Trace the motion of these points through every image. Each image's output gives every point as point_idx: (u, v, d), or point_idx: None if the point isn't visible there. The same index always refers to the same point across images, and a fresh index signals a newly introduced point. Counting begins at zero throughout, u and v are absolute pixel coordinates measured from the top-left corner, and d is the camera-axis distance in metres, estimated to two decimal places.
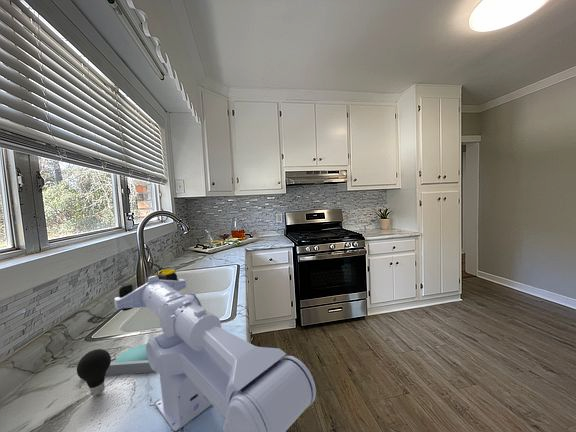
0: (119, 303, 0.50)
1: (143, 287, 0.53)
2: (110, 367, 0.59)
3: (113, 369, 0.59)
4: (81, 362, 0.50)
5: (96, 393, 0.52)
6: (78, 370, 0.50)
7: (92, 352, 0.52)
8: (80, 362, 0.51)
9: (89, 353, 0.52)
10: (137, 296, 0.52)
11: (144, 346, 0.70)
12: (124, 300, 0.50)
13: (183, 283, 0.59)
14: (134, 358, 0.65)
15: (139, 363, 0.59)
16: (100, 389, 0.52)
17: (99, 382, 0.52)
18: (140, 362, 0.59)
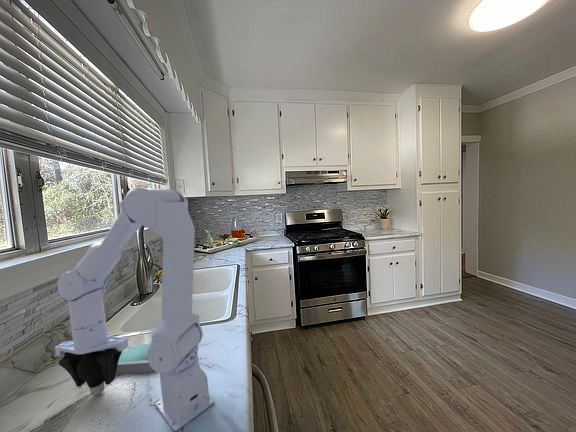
0: None
1: None
2: None
3: None
4: (81, 362, 0.50)
5: (96, 393, 0.52)
6: (78, 370, 0.50)
7: (92, 352, 0.52)
8: (80, 362, 0.51)
9: (89, 353, 0.52)
10: None
11: (144, 346, 0.70)
12: None
13: None
14: (134, 358, 0.65)
15: (139, 363, 0.59)
16: (100, 389, 0.52)
17: (99, 382, 0.52)
18: (140, 362, 0.59)
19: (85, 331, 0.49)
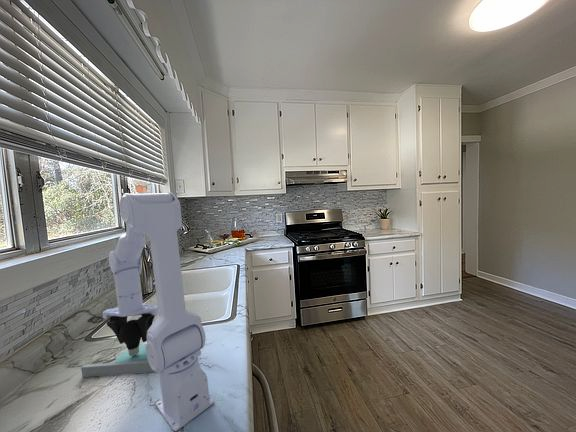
0: None
1: None
2: (110, 367, 0.59)
3: (113, 369, 0.59)
4: (123, 328, 0.63)
5: (133, 354, 0.65)
6: (120, 334, 0.63)
7: (131, 321, 0.65)
8: (122, 328, 0.63)
9: (128, 322, 0.65)
10: None
11: (144, 346, 0.70)
12: None
13: None
14: (134, 358, 0.65)
15: (139, 363, 0.59)
16: (136, 351, 0.65)
17: (136, 345, 0.65)
18: (140, 362, 0.59)
19: (128, 298, 0.63)
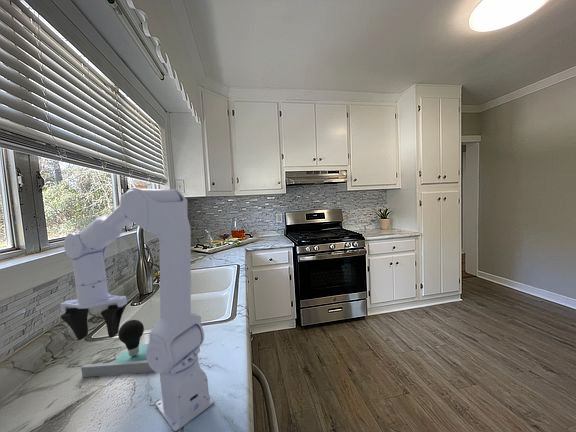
0: None
1: None
2: (110, 367, 0.59)
3: (113, 369, 0.59)
4: (122, 328, 0.63)
5: (133, 354, 0.65)
6: (120, 334, 0.63)
7: (130, 321, 0.65)
8: (121, 328, 0.63)
9: (127, 322, 0.65)
10: None
11: (144, 346, 0.70)
12: None
13: None
14: (134, 358, 0.65)
15: (139, 363, 0.59)
16: (136, 351, 0.65)
17: (135, 345, 0.65)
18: (140, 362, 0.59)
19: (88, 287, 0.55)
